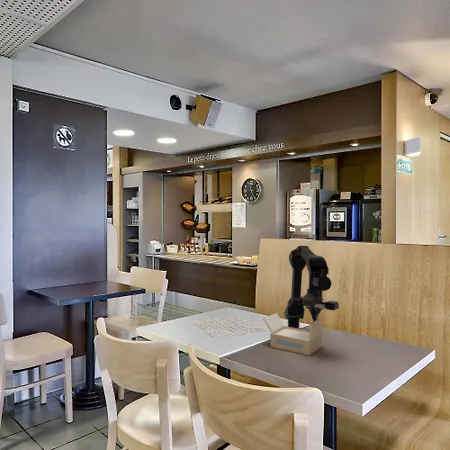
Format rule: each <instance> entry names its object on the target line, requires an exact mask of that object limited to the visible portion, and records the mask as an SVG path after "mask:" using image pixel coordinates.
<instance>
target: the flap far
mask: <svg viewBox="0 0 450 450" xmlns="http://www.w3.org/2000/svg"><path fill="white" fill-rule="evenodd" d="M262 319H263V322H264V323H265V325H266V327H267V328H268V329H269V332H270V333H272V332H274V331H276V330H278V329H280V328H282V327H285V324H284V323H283V321H282V319H281V317H280V316H279V314H278V312H275V313H273V314H270V315H267V316H265V317H263V318H262Z"/></svg>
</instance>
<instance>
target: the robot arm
mask: <svg viewBox="0 0 450 450" xmlns="http://www.w3.org/2000/svg"><path fill="white" fill-rule="evenodd" d="M288 261H289V265H290V268H291V269H292V277H291V291H290V295H291V296H290V298H289V300H288V301H287V305H286V308H285V309H284V312H283V313H284V315H283V316H284V318H286V320H287V327H291V328H297V329H302V330H303V328H301V327H300V321H301V319H302V320H303V319H304V318H305V310H306V309H307V310H308V311H309V313H310V315H311V319H312V322H314V321H315V320H317V319H319V318H318V317H319V315H320V313H321V312H322V310H327V311H336V310H338V309H339V308H340V307H339V306H340V304H339V302H338V301H336V300H328V301H324V298H323V292H324V291H325V292H326V291H328V290H330V288H331V287H332V283H333V282H332V280H331V279H330V277H328V275H329V274H330V273H329V272H330V269H329V265H328V263H327V260H326V259H325V258H324V256H322V255H316V253H314V252H313V250H311V249H310V247H309V246H308V245H299V246H297V247H296V248H295V249H292V250H291V251H290V252H289V255H288ZM305 268H307V272H308V288H307V290H306V293H305V294H304V295H303V296H302V283H303V281H302V280H303V270H304V269H305Z"/></svg>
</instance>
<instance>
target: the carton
mask: <svg viewBox="0 0 450 450" xmlns="http://www.w3.org/2000/svg"><path fill="white" fill-rule="evenodd" d="M309 336H310V330H305V329H303V328H302V329H297V328H291V327H288V326H283V327H281V328H279V329H277V330H275V331H273V332H270V336H269V337H270V338H269V339H270V341H269V342H270V345H269V347H270V348H273V349H277V350H282V351H286V352H290V353H295V354H299V355H303V356H308V357H309V356H311V355H313V354H314V353H316V352H317V351H318V350H320V349H321V348H323V333H320V334H319V335H317V336H316V337H314V338H312V339H311V340H309Z"/></svg>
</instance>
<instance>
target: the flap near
mask: <svg viewBox="0 0 450 450" xmlns="http://www.w3.org/2000/svg"><path fill="white" fill-rule="evenodd" d="M323 319H324V317H319V318H317V320H315V321H314V322H313V321H312V322H310V325H309V326H310V327H309V331H310V336H309V340H311V339H312V338H314V337H316V336H317V335H319V334H320V333H322V332H323V331H322V330H323ZM322 334H323V333H322Z"/></svg>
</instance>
